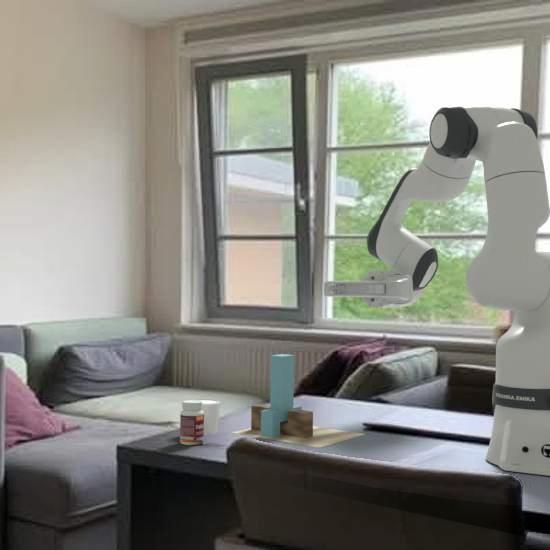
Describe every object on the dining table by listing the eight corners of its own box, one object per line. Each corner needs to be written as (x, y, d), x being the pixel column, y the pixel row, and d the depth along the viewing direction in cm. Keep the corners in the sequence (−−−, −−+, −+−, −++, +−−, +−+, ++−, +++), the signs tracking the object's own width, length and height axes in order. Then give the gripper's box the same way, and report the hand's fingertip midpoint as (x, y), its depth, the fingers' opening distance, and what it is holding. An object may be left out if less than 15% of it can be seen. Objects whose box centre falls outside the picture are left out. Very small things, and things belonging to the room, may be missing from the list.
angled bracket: (301, 430, 165) (302, 354, 165) (272, 437, 157) (273, 357, 157) (289, 428, 167) (290, 353, 167) (260, 435, 159) (261, 356, 159)
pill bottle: (199, 446, 155) (200, 403, 155) (176, 444, 156) (177, 402, 156) (206, 441, 160) (207, 400, 160) (184, 440, 161) (184, 399, 161)
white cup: (200, 430, 171) (200, 398, 171) (226, 433, 168) (227, 400, 168) (181, 435, 165) (181, 402, 165) (208, 439, 162) (208, 405, 162)
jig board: (366, 441, 162) (366, 409, 162) (319, 455, 148) (320, 421, 148) (280, 427, 175) (281, 398, 175) (231, 439, 161) (231, 408, 161)
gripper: (341, 275, 190) (309, 274, 179) (418, 275, 178) (389, 274, 167) (341, 301, 190) (309, 302, 179) (418, 303, 178) (389, 303, 166)
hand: (348, 288), depth 172 cm, fingers open, 8 cm apart
